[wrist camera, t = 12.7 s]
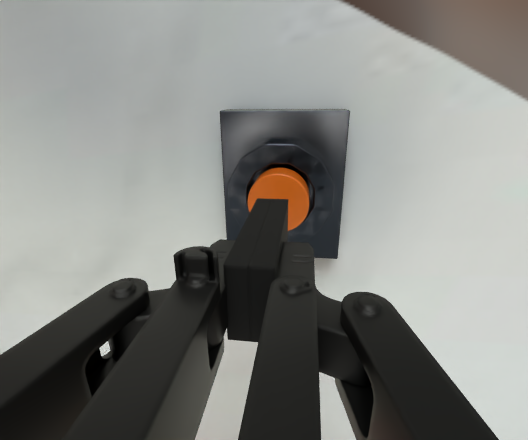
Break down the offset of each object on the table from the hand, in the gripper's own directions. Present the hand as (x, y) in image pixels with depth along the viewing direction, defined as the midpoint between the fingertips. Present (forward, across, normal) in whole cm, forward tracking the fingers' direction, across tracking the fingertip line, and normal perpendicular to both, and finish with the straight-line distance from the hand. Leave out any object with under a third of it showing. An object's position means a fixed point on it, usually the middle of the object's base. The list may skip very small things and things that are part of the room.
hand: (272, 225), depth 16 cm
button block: (+9, 0, 0) cm, 9 cm away
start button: (+5, 0, 0) cm, 5 cm away
